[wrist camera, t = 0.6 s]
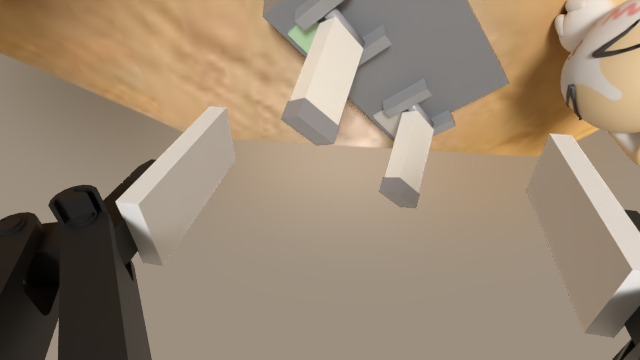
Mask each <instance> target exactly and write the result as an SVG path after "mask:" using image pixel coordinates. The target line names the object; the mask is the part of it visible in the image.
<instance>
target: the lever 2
mask: <svg viewBox="0 0 640 360" xmlns="http://www.w3.org/2000/svg"><path fill="white" fill-rule="evenodd" d="M407 110H408V111H409V112H403V113H402V116H401V119H400V123H399V127H398V130H397V134H396V138H395V141H394V145H393V148H392V152H391V156H390V160H389V163H388V167H387V170H386V174H385V177H383V179H382V183H381V187H380V190H379V192H380V193H381V194H383V195H384V196H386V197H387V198H388V199H390V200H391V201H392V202H394V203H395V204H397V205H398V206H399V207H406V208H416V207H417V203H418V199H419V195H420V194H419V189H420V185H421V181H422V177H423V173H424V168H425V165H426V160H427V156H428V152H429V148H430V144H431V140H432V136H433V132H434V129H433V128H432V127H433V126H434V122H433V121H432V120H431V119H430V117H429V116H428V115H427V114H426V113H425V112H424V110H423V109H422V108H421V107H420V106H419V104H418V103H417V104H416V105H414V106H412V107H410V108H408V109H407Z"/></svg>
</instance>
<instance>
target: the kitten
mask: <svg viewBox="0 0 640 360" xmlns="http://www.w3.org/2000/svg"><path fill="white" fill-rule="evenodd" d="M565 8H566V11H567V12H568V13H567V14H560V15H558V16H557V17H556V19H555V28H556V31H557V33H558V35H559V40H560V43H561V45H562V46H563V47H564V48H565V49H566V50H567V51H569V52H570V55H569V56H568V58H567V59H566V61H565V63H564V66H563V69H562V73H561V78H560V88H561V92H562V95H563V98H564V99H565V101H566V105H567V106H568V107H570V108H571V109H572V110H573V111H574V113H575V114H576V115H577V116H578V117H579V120H581V119H583V120H584V121H586V122H587V123H589V124H591V125H593V126H595V127H597V128H600V129H602V130H606V131H608V132H609V134H610V135H611V136H612V137H613V138H614V140H615V141H616V142H617V143H618V144H619V146H620V147H621V148H622V150H623V151H624V152H625V154H626V155H627V156H628V157H629V158H630V159H631V160H632V161H633V162H634V163H635V164H636V165H638V166H640V0H568V1H567V2H566V4H565Z"/></svg>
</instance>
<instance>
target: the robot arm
mask: <svg viewBox="0 0 640 360" xmlns="http://www.w3.org/2000/svg"><path fill="white" fill-rule="evenodd" d="M235 160H236V159H235V153H234V147H233V142H232V136H231V130H230V125H229V119H228V114H227V108H226V107H214V106H210V107H209V108H208V109H207V110H206V111H205V112H204V113H203V114H202V115H201V116H200V117H199V118H198V119H197V120H196V121H195V122H194V123H193V124H192V125H191V126H190V127H189V128H188V129H187V130H186V131H185V132H184V133H183V134H182V135H181V136H180V137H179V138H178V139H177V140H176V141H175V142H174V143H173V144H172V145H171V146H170V147H169V148H168V149H167V150H166V151H165V152H164V153H163V154H162V155H161V156H160V157H159V158H158V159H157V160H150V161H148V162H146V163H144V164H142V165H140V166H139V167H138V168H137V169H136V170H135V171H134V172H132V173H131V175H130V176H129V177H127V178H126V179H125V180H124V181H123V183H121V184H120V185H119V186H118V187H117V188H116V189H115V190H114V191H113V192H112V193H111V194H110V195H109V196H108V197H107V198H105V200H102V198H101V196H100V194H99V192H98V190H97V188H96V187H93V186H91V185H80V186H74V187H71V188H68V189H66V190H64V191H62V192H60V193H58V194H57V195H55V196H54V197H53V198H52V199H51V200H50V203H49V207H50V209H51V211H52V212H53V214H54V216H55V217H56V219H57V220H58V222H54V223H45V224H41V222H40V221H39V219H38V218H37V216H36V215H35V214H33V213H29V212H26V213H18V214H14V215H10V216H7V217H5V218H3V219H1V220H0V360H45V357H46V354H47V351H48V348H49V345H50V342H51V339H52V336H53V333H54V330H55V327H56V324H57V321H58V318H59V336H58V337H59V338H58V360H152V359H151V353H150V348H149V343H148V338H147V332H146V327H145V322H144V317H143V311H142V306H141V300H140V295H139V290H138V285H137V279H136V274H135V268H134V265H133V263H132V261H131V259H132V257H133V256H134V255H135V254H136V252H137V251H138V253H139V255H140V257H141V259H142V261H143V263H149V264H155V265H162V266H163V265H164V264H165V262H166V261H167V260H168V258H169V256H170V255H171V254H172V252H173V251H174V249H175V248H176V246H177V245H178V243H179V242H180V241H181V239H182V238H183V236H184V235H185V233H186V232H187V230H188V229H189V227H190V226H191V224H192V223H193V222H194V220H195V218H196V217H197V216H198V214H199V213H200V211H201V210H202V208H203V207H204V205H205V204H206V202H207V201H208V200H209V198H210V197H211V195H212V194H213V192H214V190H215V189H216V187H217V186H218V185H219V184H220V182H221V181H222V179H223V178H224V176H225V175H226V173H227V172H228V170H229V169H230V167H231V166H232V165H233V163H234V161H235ZM526 191H527V194H528V196H529V199H530V201H531V204H532V206H533V209H534V211H535V213H536V216H537V219H538V221H539V223H540V226H541V228H542V231H543V233H544V236H545V238H546V241H547V243H548V246H549V248H550V251H551V253H552V255H553V258H554V260H555V263H556V265H557V268H558V270H559V273H560V275H561V277H562V280H563V283H564V285H565V287H566V290H567V292H568V295H569V297H570V300H571V302H572V305H573V307H574V309H575V312H576V314H577V317H578V319H579V322H580V324H581V327H582V329H583V332H584V333H587V334H594V335H600V336H607V337H613V338H614V337H615V336H616V335H617V333H618V332H619V331H620V330H621V329H622V328H623V327H624V326H626V329H627V331H628V333H629V334H630V336H631V338H632V339H631V340H630V341H629V342H628V343H627V344H626V345H625V346H624V347H623V348H622V349H621V351H620V352H619V353H618V354H617V355H616V356H615V357H614V358H613V360H640V214H639V213H638V212H637V211H631V210H624V209H623V208H622V207H621V205H620V204H619V202H618V201H617V199H616V198H615V197H614V195H613V194H612V192H611V191H610V189H609V188H608V187H607V185H606V184H605V182H604V181H603V180H602V178H601V177H600V175H599V174H598V172H597V171H596V169H595V168H594V167H593V165H592V164H591V162H590V161H589V160H588V158H587V157H586V155H585V154H584V152H583V151H582V150H581V148H580V147H579V145H578V144H577V142H576V141H575V140H574V138H573V137H572V135H561V134H549V136H548V139H547V141H546V143H545V146H544V148H543V151H542V153H541V155H540V158H539V160H538V163H537V165H536V167H535V170H534V172H533V174H532V177H531V179H530V182H529V184H528V187H527V189H526Z"/></svg>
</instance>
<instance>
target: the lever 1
mask: <svg viewBox="0 0 640 360" xmlns="http://www.w3.org/2000/svg"><path fill="white" fill-rule="evenodd" d="M324 17H325V18H326V21H324V22H321V23H320V24H319V26H318V29H317V31H316V34H315V37H314V39H313V42H312V44H311V47H310V50H309V52H308V55H307V57H306V60H305V63H304V65H303V68H302V70H301V73H300V76H299V78H298V81H297V83H296V86H295V89H294V91H293V94H292V97H291V99H290V101H288V102H287V104H286V107H285V110H284V112H283V115H282V117H281V120H283V121H284V122H285V123H287V124H288V125H289V126H291V127H292V128H293V129H295V130H296V131H297V132H299V133H300V134H302V135H303V136H304V137H306V138H307V139H308V140H310V141H311V142H312V143H314V144H315V145H328V144H334V142H335V139H336V136H337V133H338V130H339V126H338V124H339V121H340V118H341V115H342V112H343V109H344V106H345V103H346V100H347V97H348V94H349V91H350V88H351V85H352V82H353V79H354V76H355V73H356V70H357V67H358V64H359V61H360V58H361V55H362V52H363V48H362V47H363V46H364V44H365V41H364V40H363V39H362V37H361V36H360V35H359V34H358V33H357V31H356V30H355V29H354V28H353V27H352V26H351V24H350V23H349V22H348V21H347V20H346V19H345V17H344V16H343V15H342V14H341V13H340V11H339V10H338V9H337V8H336V7H335V8H333V9H332V10H331V11H329V12H328V13H327V14H326V15H324Z"/></svg>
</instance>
